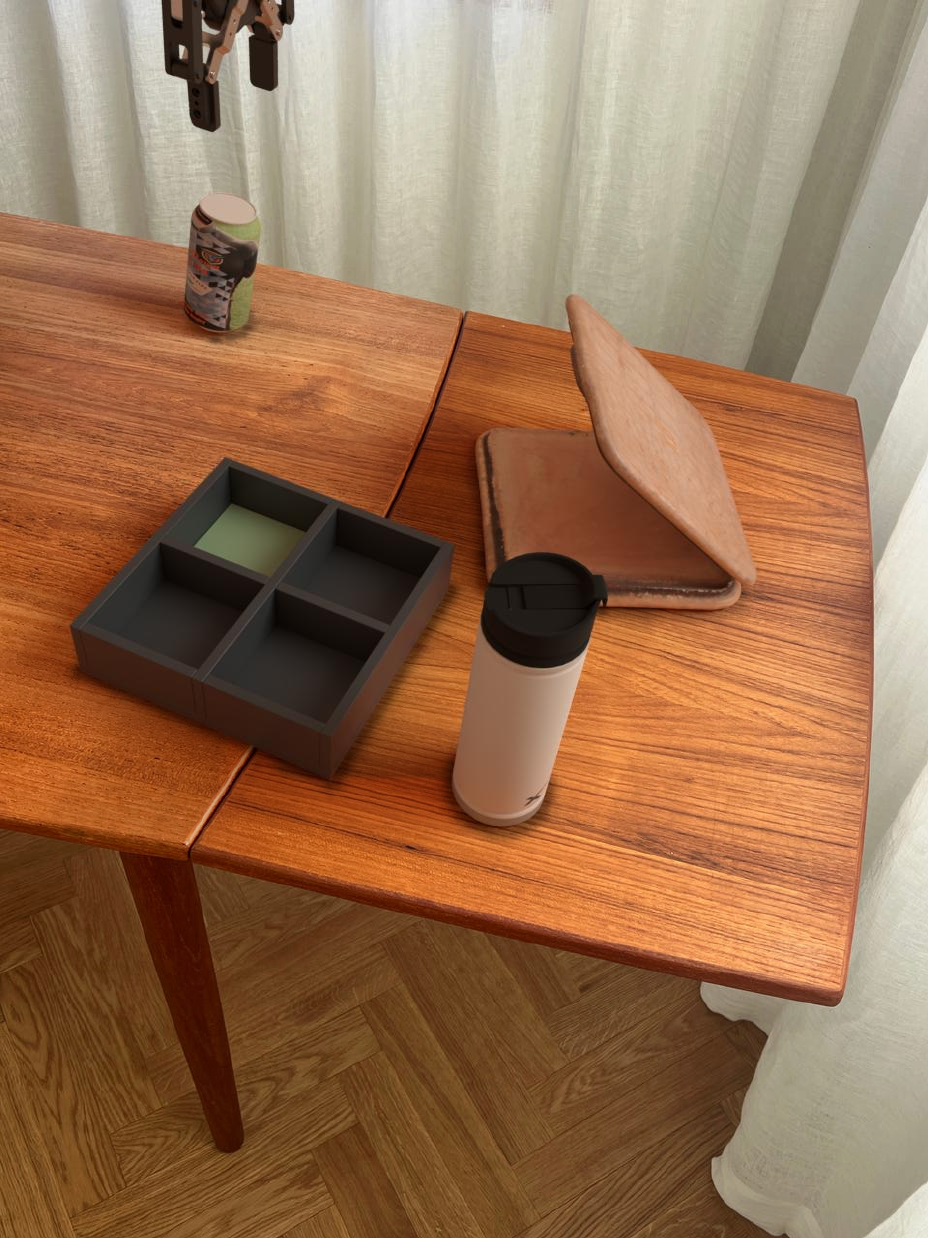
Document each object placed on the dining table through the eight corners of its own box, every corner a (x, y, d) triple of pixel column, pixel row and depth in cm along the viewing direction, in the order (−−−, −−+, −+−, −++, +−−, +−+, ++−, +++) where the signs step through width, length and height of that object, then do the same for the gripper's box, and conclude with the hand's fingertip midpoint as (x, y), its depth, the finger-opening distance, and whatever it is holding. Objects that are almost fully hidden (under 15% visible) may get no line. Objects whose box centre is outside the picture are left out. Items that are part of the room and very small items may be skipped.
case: (753, 617, 87) (824, 461, 75) (487, 610, 84) (516, 448, 72) (702, 446, 100) (756, 290, 88) (471, 435, 98) (494, 274, 86)
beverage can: (180, 305, 106) (168, 187, 97) (257, 299, 108) (252, 182, 99) (191, 344, 102) (179, 224, 93) (270, 336, 104) (266, 218, 95)
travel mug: (554, 828, 73) (617, 630, 58) (454, 829, 72) (491, 628, 57) (543, 748, 77) (600, 544, 62) (448, 748, 76) (482, 541, 61)
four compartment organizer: (80, 672, 77) (68, 625, 73) (228, 504, 89) (225, 456, 85) (330, 780, 73) (331, 737, 69) (448, 589, 86) (455, 544, 82)
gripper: (233, -169, 80) (242, 62, 92) (115, -122, 71) (141, 127, 83) (326, -144, 79) (322, 88, 91) (216, -92, 70) (228, 157, 82)
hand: (235, 106), depth 87 cm, fingers open, 8 cm apart
